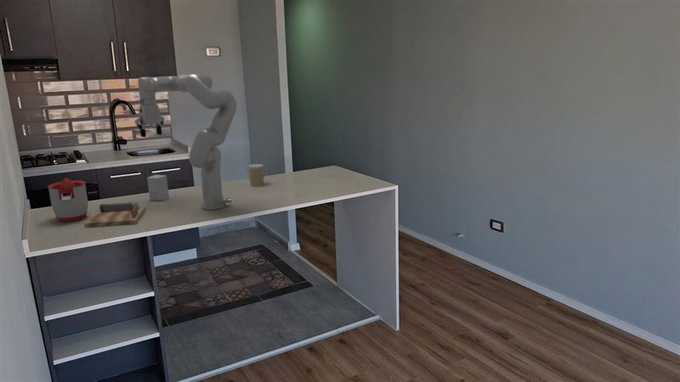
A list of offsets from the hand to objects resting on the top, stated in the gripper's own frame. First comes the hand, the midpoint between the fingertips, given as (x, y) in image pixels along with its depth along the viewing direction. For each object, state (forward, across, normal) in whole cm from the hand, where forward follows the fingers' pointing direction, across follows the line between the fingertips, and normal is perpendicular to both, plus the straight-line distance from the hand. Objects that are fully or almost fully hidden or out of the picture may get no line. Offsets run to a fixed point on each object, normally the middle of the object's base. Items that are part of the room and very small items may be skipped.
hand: (151, 135), depth 247 cm
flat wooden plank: (+35, -30, -8) cm, 47 cm away
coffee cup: (+35, +53, -24) cm, 68 cm away
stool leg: (+33, -25, -3) cm, 41 cm away
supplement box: (+36, +4, +3) cm, 36 cm away
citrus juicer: (+36, -41, +11) cm, 55 cm away
